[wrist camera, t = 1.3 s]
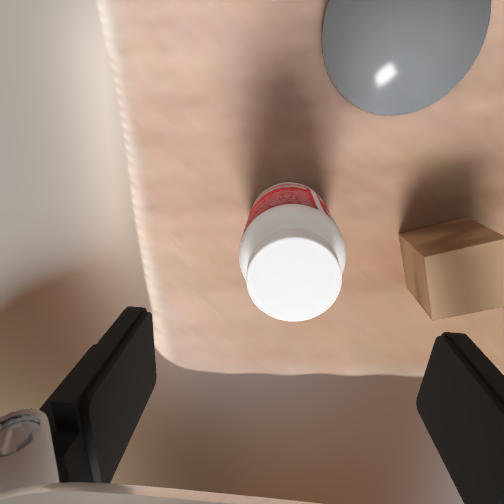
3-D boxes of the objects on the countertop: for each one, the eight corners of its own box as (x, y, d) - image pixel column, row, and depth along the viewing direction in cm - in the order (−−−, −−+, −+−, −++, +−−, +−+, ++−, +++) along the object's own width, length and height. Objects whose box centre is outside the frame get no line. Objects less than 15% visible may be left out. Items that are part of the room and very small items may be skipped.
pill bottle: (235, 227, 26) (207, 292, 16) (279, 164, 24) (279, 193, 14) (295, 268, 27) (305, 354, 17) (343, 211, 25) (386, 270, 15)
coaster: (508, -69, 19) (516, -75, 18) (458, 119, 22) (463, 119, 22) (333, -72, 19) (335, -78, 19) (312, 111, 23) (313, 111, 22)
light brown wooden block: (465, 216, 25) (508, 238, 20) (470, 273, 26) (510, 305, 22) (398, 233, 26) (424, 257, 21) (406, 287, 27) (432, 320, 23)
